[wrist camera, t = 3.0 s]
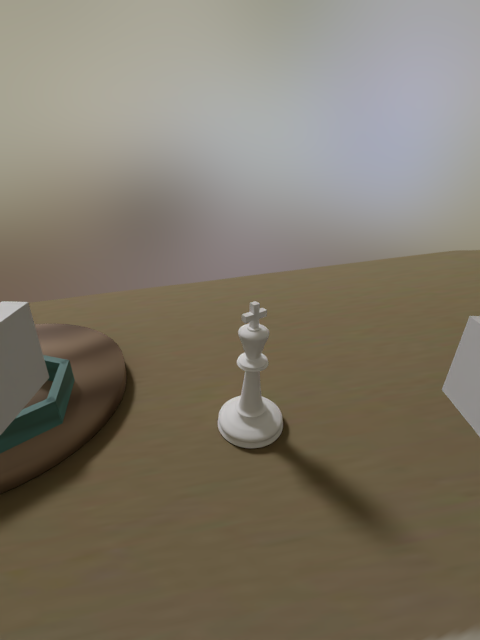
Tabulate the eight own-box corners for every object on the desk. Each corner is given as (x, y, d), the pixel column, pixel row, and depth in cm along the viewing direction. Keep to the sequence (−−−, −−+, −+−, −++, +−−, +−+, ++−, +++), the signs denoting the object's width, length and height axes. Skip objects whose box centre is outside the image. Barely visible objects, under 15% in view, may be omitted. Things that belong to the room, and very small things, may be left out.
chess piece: (296, 428, 25) (312, 307, 21) (243, 460, 23) (247, 330, 18) (255, 393, 29) (260, 282, 24) (205, 417, 26) (200, 298, 21)
